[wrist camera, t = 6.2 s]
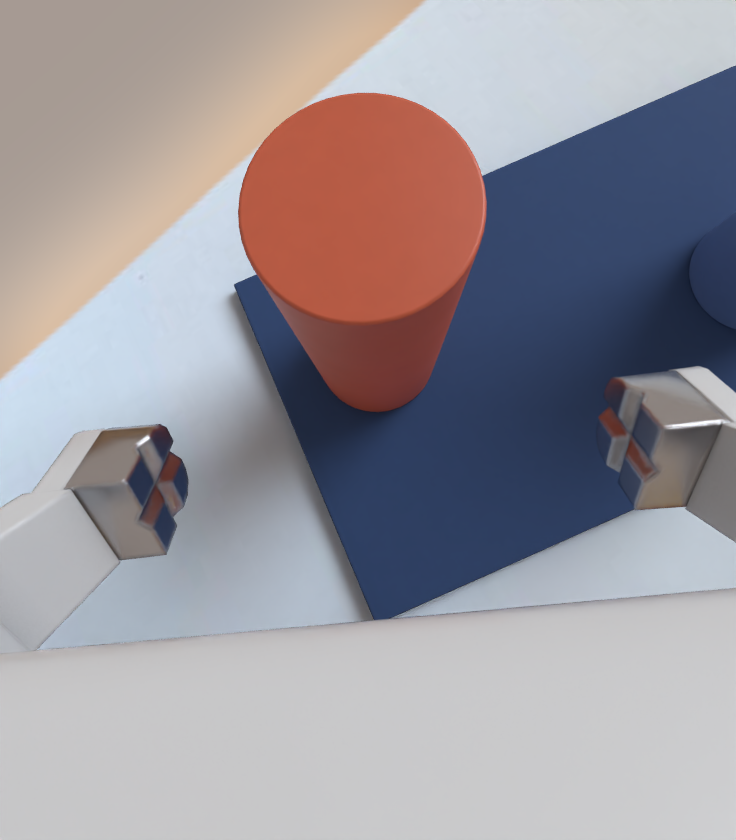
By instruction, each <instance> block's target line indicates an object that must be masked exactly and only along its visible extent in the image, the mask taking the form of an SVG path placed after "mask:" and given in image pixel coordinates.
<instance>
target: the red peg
mask: <svg viewBox="0 0 736 840" xmlns="http://www.w3.org/2000/svg"><path fill="white" fill-rule="evenodd" d="M486 207H487V200H486V192H485V185H484V182H483V178H482V174H481V171H480V168H479V166H478V164H477V161H476V159H475V157H474V155H473V153H472V152H471V150H470V148H469V147H468V145H467V143H466V142H465V141H464V139H463V138H462V137H461V136H460V135H459V133H458V132H457V131H456V130H455V129H454V128H453V127H452V126H451V125H450V124H449V123H448V122H446V121H445V120H444V119H443V118H441V117H440V116H438V115H437V114H436V113H434V112H433V111H431V110H429V109H427V108H425V107H423V106H422V105H420V104H417V103H415V102H412V101H409V100H407V99H404V98H400V97H396V96H392V95H386V94H378V93H354V94H346V95H340V96H336V97H332V98H328V99H325V100H322V101H319V102H317V103H314V104H312V105H310V106H308V107H306V108H304V109H302V110H300V111H298V112H297V113H295V114H294V115H292V116H291V117H289V118H288V119H286V120H285V121H284V122H283V123H281V124H280V125H279V126H278V127H277V128H276V129H274V131H273V132H272V133H271V134H270V135H269V136H268V137H267V138H266V139H265V140H264V142H263V143H262V145H261V146H260V147H259V149H258V150H257V152H256V153H255V155H254V157H253V159H252V161H251V162H250V164H249V166H248V169H247V172H246V174H245V177H244V180H243V183H242V188H241V192H240V197H239V209H238V217H239V229H240V235H241V240H242V244H243V246H244V249H245V252H246V255H247V257H248V259H249V261H250V263H251V265H252V267H253V269H254V271H255V272H256V274H257V276H258V277H259V279H260V280H261V282H262V283H263V285H264V286H265V288H266V290H267V291H268V293H269V294H270V296H271V297H272V299H273V301H274V302H275V304H276V305H277V307H278V308H279V310H280V312H281V313H282V315H283V316H284V318H285V319H286V321H287V323H288V324H289V326H290V327H291V329H292V330H293V332H294V334H295V335H296V337H297V338H298V340H299V341H300V343H301V345H302V346H303V348H304V349H305V351H306V352H307V354H308V356H309V357H310V359H311V360H312V362H313V363H314V365H315V367H316V368H317V370H318V371H319V373H320V374H321V376H322V377H323V379H324V381H325V382H326V384H327V385H328V387H329V388H330V390H331V391H332V392H333V393H334V394H335V395H336V396H337V397H338V398H339V399H340V400H342V401H343V402H345V403H346V404H348V405H350V406H352V407H354V408H357V409H360V410H364V411H370V412H382V411H389V410H393V409H396V408H398V407H401V406H403V405H405V404H407V403H408V402H410V401H411V400H413V399H414V398H415V397H416V396H417V395H418V394H419V393H420V392H421V391H422V390H423V388H424V387H425V385H426V384H427V382H428V380H429V378H430V376H431V373H432V371H433V368H434V366H435V363H436V360H437V358H438V355H439V352H440V350H441V347H442V344H443V342H444V339H445V336H446V334H447V331H448V328H449V326H450V323H451V320H452V318H453V315H454V313H455V310H456V307H457V305H458V302H459V299H460V297H461V294H462V291H463V289H464V286H465V283H466V281H467V278H468V275H469V273H470V270H471V267H472V265H473V262H474V260H475V257H476V254H477V252H478V249H479V246H480V243H481V240H482V236H483V233H484V228H485V222H486Z"/></svg>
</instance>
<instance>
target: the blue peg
mask: <svg viewBox="0 0 736 840" xmlns="http://www.w3.org/2000/svg"><path fill="white" fill-rule="evenodd" d="M689 279H690V284H691V288H692V291H693V293H694V295H695V298H696V299H697V301H698V303H699V304H700V306H701V307H702V308H703V309H704V310H705V311H706V312H707V313H708V314H709V315H710V316H711V317H712V318H714V319H715V320H716V321H718V322H720V323H721V324H723V325H725V326H728V327H730V328H733V329H736V212H734V213H733V214H732V215H731V216H729V217H728V218H727V219H726V220H724V221H723V222H722V223H720V224H719V225H718V226H717V227H715V228H714V229H713V230H712V231H710V232H709V233H708V234H707V235H706V236H705V237H703V238H702V240H701V241H700V242H699V243H698V245H697V247H696V248H695V250H694V252H693V255H692V258H691V262H690V268H689Z"/></svg>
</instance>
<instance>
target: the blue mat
mask: <svg viewBox="0 0 736 840" xmlns="http://www.w3.org/2000/svg"><path fill="white" fill-rule="evenodd" d="M482 178H483V182H484V185H485V192H486V200H487V207H486V222H485V228H484V233H483V236H482V240H481V243H480V246H479V249H478V252H477V254H476V257H475V260H474V262H473V265H472V267H471V270H470V273H469V275H468V278H467V281H466V283H465V286H464V289H463V291H462V294H461V297H460V299H459V302H458V305H457V307H456V310H455V313H454V315H453V318H452V320H451V323H450V326H449V328H448V331H447V334H446V336H445V339H444V342H443V344H442V347H441V350H440V352H439V355H438V358H437V360H436V363H435V366H434V368H433V371H432V373H431V376H430V378H429V380H428V382H427V384H426V385H425V387H424V388H423V390H422V391H421V392H420V393H419V394H418V395H417V396H416V397H415V398H414V399H413V400H411V401H410V402H408V403H407V404H405V405H403V406H401V407H398V408H396V409H393V410H389V411H382V412H370V411H364V410H360V409H357V408H354V407H352V406H350V405H348V404H346V403H345V402H343V401H342V400H340V399H339V398H338V397H337V396H336V395H335V394H334V393H333V392H332V391H331V390H330V388H329V387H328V385H327V384H326V382H325V381H324V379H323V377H322V376H321V374H320V373H319V371H318V370H317V368H316V367H315V365H314V363H313V362H312V360H311V359H310V357H309V356H308V354H307V352H306V351H305V349H304V348H303V346H302V345H301V343H300V341H299V340H298V338H297V337H296V335H295V334H294V332H293V330H292V329H291V327H290V326H289V324H288V323H287V321H286V319H285V318H284V316H283V315H282V313H281V312H280V310H279V308H278V307H277V305H276V304H275V302H274V301H273V299H272V297H271V296H270V294H269V293H268V291H267V290H266V288H265V286H264V285H263V283H262V282H261V280H260V279H259V277H258V276H257V275H254V276H252V277H250V278H248V279H245V280H243V281H241V282H238V283H236V284H234V287H235V289H236V291H237V294H238V296H239V298H240V301H241V303H242V306H243V308H244V310H245V313H246V315H247V318H248V320H249V322H250V325H251V327H252V330H253V332H254V334H255V337H256V339H257V341H258V344H259V346H260V349H261V351H262V353H263V356H264V358H265V361H266V363H267V365H268V368H269V370H270V373H271V375H272V377H273V380H274V382H275V384H276V387H277V389H278V392H279V394H280V396H281V399H282V401H283V404H284V406H285V408H286V411H287V413H288V416H289V418H290V420H291V423H292V425H293V427H294V430H295V432H296V435H297V437H298V439H299V442H300V444H301V447H302V449H303V451H304V454H305V456H306V459H307V461H308V463H309V466H310V468H311V470H312V473H313V475H314V478H315V480H316V482H317V485H318V487H319V490H320V492H321V494H322V497H323V499H324V502H325V504H326V506H327V509H328V511H329V513H330V516H331V518H332V521H333V523H334V525H335V528H336V530H337V533H338V535H339V537H340V540H341V542H342V545H343V547H344V549H345V552H346V554H347V556H348V559H349V561H350V564H351V566H352V568H353V571H354V573H355V576H356V578H357V580H358V583H359V585H360V588H361V590H362V592H363V595H364V597H365V599H366V602H367V604H368V607H369V609H370V611H371V614H372V616H373V619H374V620H383V619H390V618H392V617H394V616H396V615H399V614H401V613H403V612H405V611H408V610H410V609H412V608H414V607H417V606H419V605H421V604H423V603H426V602H428V601H430V600H432V599H434V598H437V597H439V596H441V595H443V594H446V593H448V592H450V591H452V590H455V589H457V588H459V587H461V586H464V585H466V584H468V583H470V582H473V581H475V580H477V579H479V578H481V577H484V576H486V575H488V574H490V573H493V572H495V571H497V570H499V569H502V568H504V567H506V566H508V565H511V564H513V563H515V562H517V561H520V560H522V559H524V558H526V557H528V556H531V555H533V554H535V553H537V552H540V551H542V550H544V549H546V548H549V547H551V546H553V545H555V544H558V543H560V542H562V541H564V540H566V539H569V538H571V537H573V536H575V535H578V534H580V533H582V532H584V531H587V530H589V529H591V528H593V527H596V526H598V525H600V524H602V523H605V522H607V521H609V520H611V519H613V518H616V517H618V516H620V515H622V514H625V513H627V512H629V511H631V510H634V507H633V506H632V504H631V503H630V501H629V500H628V498H627V497H626V495H625V493H624V492H623V490H622V489H621V487H620V486H619V484H618V479H619V476H620V472H618V471H616V470H614V469H612V468H610V467H609V466H607V465H606V464H605V462H604V460H603V459H602V457H601V455H600V453H599V450H598V447H597V441H596V427H597V422H598V417H599V416H600V415H601V414H602V413H603V412H604V411H605V410H606V409H607V408H608V407H609V405H608V403H607V402H606V400H605V399H604V397H603V396H604V392H605V388H606V385H607V383H608V382H609V380H610V378H611V377H620V376H628V375H637V374H646V373H654V372H663V371H669V370H673V369H681V368H688V367H695V366H700V367H703V368H706V369H708V370H710V371H711V372H712V373H713V374H714V375H715V376H717V377H718V378H719V379H720V380H721V381H722V382H724V383H725V384H726V385H727V386H728V387H729V388H731V389H732V390H733V391H734V392H735V393H736V329H733V328H730V327H728V326H725V325H723V324H721V323H720V322H718V321H716V320H715V319H714V318H712V317H711V316H710V315H709V314H708V313H707V312H706V311H705V310H704V309H703V308H702V307H701V306H700V304H699V303H698V301H697V299H696V298H695V295H694V293H693V291H692V288H691V284H690V279H689V268H690V262H691V258H692V255H693V252H694V250H695V248H696V247H697V245H698V243H699V242H700V241H701V240H702V238H703V237H705V236H706V235H707V234H708V233H709V232H710V231H712V230H713V229H714V228H715V227H717V226H718V225H719V224H720V223H722V222H723V221H724V220H726V219H727V218H728V217H729V216H731V215H732V214H733V213H734V212H736V66H733V67H731V68H729V69H726V70H724V71H722V72H720V73H717V74H715V75H713V76H710V77H708V78H706V79H704V80H701V81H699V82H697V83H694V84H692V85H690V86H687V87H685V88H683V89H681V90H678V91H676V92H674V93H671V94H669V95H667V96H665V97H662V98H660V99H658V100H655V101H653V102H651V103H649V104H646V105H644V106H642V107H639V108H637V109H635V110H633V111H630V112H628V113H626V114H623V115H621V116H619V117H616V118H614V119H612V120H610V121H607V122H605V123H603V124H600V125H598V126H596V127H594V128H591V129H589V130H587V131H584V132H582V133H580V134H578V135H575V136H573V137H571V138H568V139H566V140H564V141H561V142H559V143H557V144H555V145H552V146H550V147H548V148H545V149H543V150H541V151H539V152H536V153H534V154H532V155H529V156H527V157H525V158H523V159H520V160H518V161H516V162H513V163H511V164H509V165H506V166H504V167H502V168H500V169H497V170H495V171H493V172H490V173H488V174H486V175H484V176H482Z"/></svg>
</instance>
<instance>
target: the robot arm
mask: <svg viewBox="0 0 736 840" xmlns="http://www.w3.org/2000/svg"><path fill="white" fill-rule="evenodd" d="M603 397H604V399H605V400H606V402H607V403H608V405H609V407H608V408H607V409H606V410H605V411H604V412H603V413H602V414H601V415H600V416H599V417H598V422H597V427H596V441H597V447H598V450H599V453H600V455H601V457H602V459H603V460H604V462H605V464H606V465H607V466H609V467H610V468H612V469H614V470H616V471H618V472H620V476H619V479H618V484H619V486H620V487H621V489H622V490H623V492H624V493H625V495H626V497H627V498H628V500H629V501H630V503H631V504H632V506H633V507H634V509H635V510H644V509H658V508H673V507H686V508H685V509H686V510H688V511H689V512H691V513H692V514H694V515H695V516H697V517H698V518H700V519H701V520H703V521H704V522H706V523H707V524H709V525H710V526H712V527H713V528H715V529H716V530H718V531H719V532H721V533H722V534H724V535H725V536H727V537H728V538H730V539H731V540H733V541H734V542H736V393H735V392H734V391H733V390H732V389H731V388H729V387H728V386H727V385H726V384H725V383H724V382H722V381H721V380H720V379H719V378H718V377H717V376H715V375H714V374H713V373H712V372H711V371H710V370H708V369H706V368H703V367H700V366H695V367H688V368H681V369H673V370H669V371H663V372H654V373H646V374H637V375H628V376H620V377H611V378H610V380H609V382H608V383H607V385H606V388H605V392H604V396H603ZM172 444H173V439H172V437H171V435H170V433H169V431H168V429H167V428H166V427H164V426H163V425H161V424H155V425H143V426H131V427H119V428H108V429H97V430H87V431H81V432H79V433H76V434H74V435H73V437H72V438H71V439H70V441H69V442H68V444H67V445H66V446H65V448H64V449H63V450H62V452H61V453H60V454H59V456H58V457H57V458H56V460H55V461H54V463H53V464H52V465H51V467H50V468H49V469H48V471H47V472H46V473H45V475H44V476H43V478H42V479H41V480H40V482H39V483H38V484H37V486H36V487H35V488H34V490H33V491H32V493H27V494H22V495H20V496H18V497H17V498H15V499H14V500H12V501H10V502H9V503H7V504H6V505H4V506H3V507H1V508H0V840H736V588H729V589H718V590H707V591H696V592H684V593H673V594H662V595H651V596H640V597H629V598H618V599H607V600H595V601H584V602H573V603H562V604H551V605H540V606H529V607H518V608H507V609H495V610H484V611H473V612H462V613H450V614H439V615H428V616H417V617H405V618H394V619H383V620H371V621H360V622H349V623H338V624H326V625H315V626H304V627H292V628H281V629H270V630H259V631H248V632H236V633H225V634H214V635H203V636H191V637H180V638H169V639H158V640H147V641H135V642H124V643H113V644H102V645H91V646H79V647H68V648H57V649H46V650H37V649H38V648H39V647H40V646H41V645H42V644H43V643H44V642H45V641H46V640H47V639H48V637H49V636H50V635H51V634H52V633H53V632H54V631H55V630H56V629H57V628H58V627H59V626H60V625H61V624H62V623H63V622H64V621H65V620H66V619H67V618H68V617H69V616H70V615H71V614H72V613H73V611H74V610H75V609H76V608H77V607H78V606H79V605H80V604H81V603H82V602H83V601H84V600H85V599H86V598H87V597H88V596H89V595H90V594H91V593H92V592H93V591H94V590H95V589H96V588H97V587H98V586H99V584H100V583H101V582H102V581H103V580H104V579H105V578H106V577H107V576H108V575H109V574H110V573H111V572H112V571H113V570H114V569H115V568H116V567H117V566H118V565H119V564H120V561H119V560H127V559H136V558H144V557H152V556H160V555H166V554H167V552H168V549H169V546H170V543H171V541H172V538H173V535H174V533H175V530H176V527H177V524H176V522H175V520H174V518H173V516H174V515H175V514H176V513H178V512H179V511H180V510H181V509H182V508H183V507H184V505H185V502H186V499H187V496H188V476H187V471H186V468H185V466H184V463H183V461H182V459H181V458H179V457H178V456H176V455H175V454H173V453H172V452H170V449H171V446H172Z"/></svg>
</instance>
